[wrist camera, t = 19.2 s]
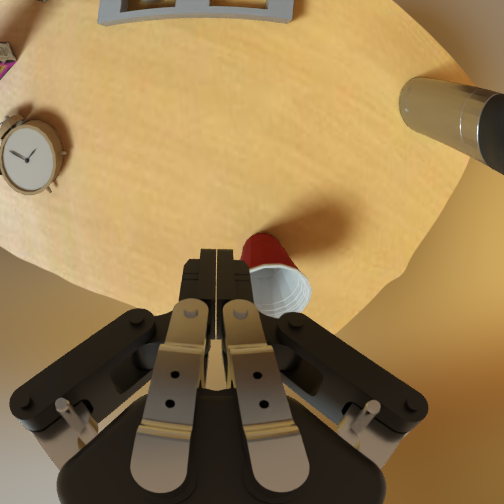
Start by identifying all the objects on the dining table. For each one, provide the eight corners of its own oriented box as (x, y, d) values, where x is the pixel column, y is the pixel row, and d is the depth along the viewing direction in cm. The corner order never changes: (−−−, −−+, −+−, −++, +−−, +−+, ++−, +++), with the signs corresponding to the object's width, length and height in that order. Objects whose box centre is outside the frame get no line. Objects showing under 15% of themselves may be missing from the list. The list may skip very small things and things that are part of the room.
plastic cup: (213, 259, 49) (213, 310, 39) (251, 206, 44) (260, 250, 34) (268, 285, 53) (278, 336, 43) (306, 239, 48) (328, 286, 38)
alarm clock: (44, 207, 38) (-26, 172, 30) (54, 192, 41) (-12, 160, 33) (68, 144, 33) (-9, 107, 25) (78, 134, 37) (6, 100, 29)
